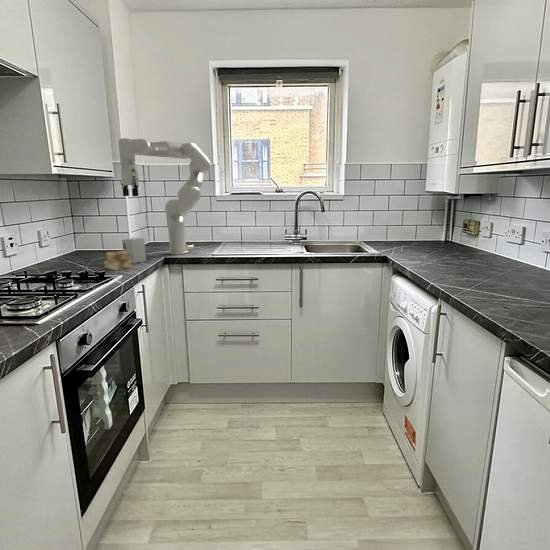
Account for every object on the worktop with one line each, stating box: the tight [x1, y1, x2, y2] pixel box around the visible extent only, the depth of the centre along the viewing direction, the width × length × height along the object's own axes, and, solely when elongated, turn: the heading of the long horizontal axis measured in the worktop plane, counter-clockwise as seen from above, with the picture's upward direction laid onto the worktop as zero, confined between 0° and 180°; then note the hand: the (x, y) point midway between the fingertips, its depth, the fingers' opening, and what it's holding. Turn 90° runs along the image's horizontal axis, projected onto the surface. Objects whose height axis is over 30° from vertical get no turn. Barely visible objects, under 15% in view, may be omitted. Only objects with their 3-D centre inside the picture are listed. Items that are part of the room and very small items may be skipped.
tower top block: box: [105, 250, 129, 263], centre depth 193 cm, size 9×9×4 cm
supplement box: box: [124, 237, 147, 264], centre depth 207 cm, size 7×7×13 cm
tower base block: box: [103, 260, 134, 271], centre depth 194 cm, size 10×10×4 cm
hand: (130, 196), depth 209 cm, fingers open, 9 cm apart
